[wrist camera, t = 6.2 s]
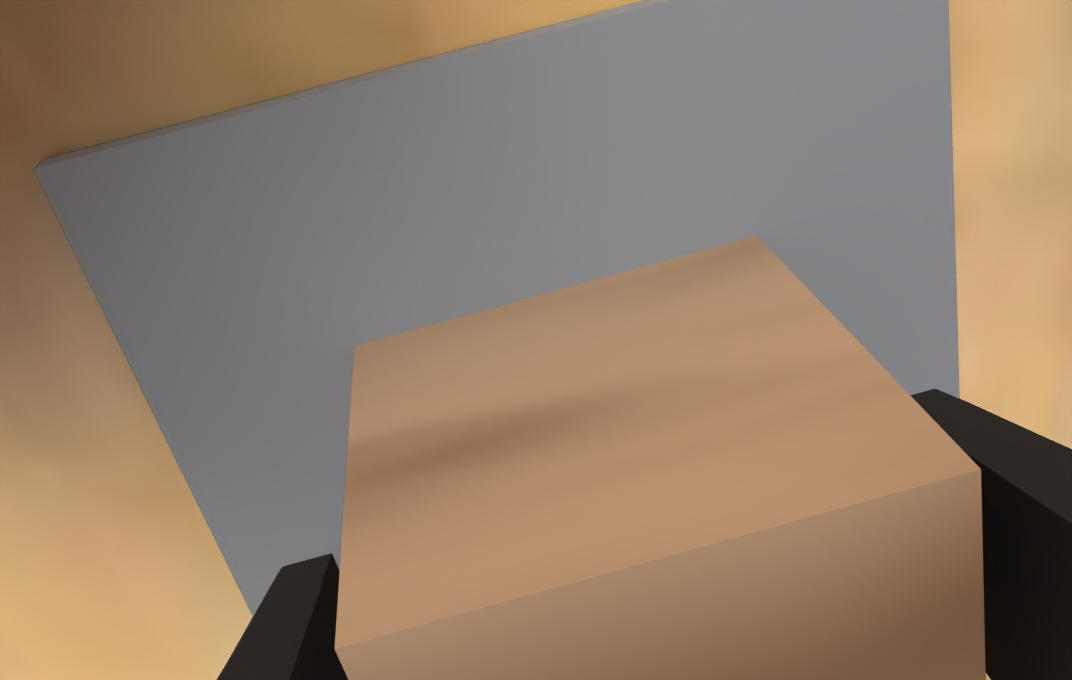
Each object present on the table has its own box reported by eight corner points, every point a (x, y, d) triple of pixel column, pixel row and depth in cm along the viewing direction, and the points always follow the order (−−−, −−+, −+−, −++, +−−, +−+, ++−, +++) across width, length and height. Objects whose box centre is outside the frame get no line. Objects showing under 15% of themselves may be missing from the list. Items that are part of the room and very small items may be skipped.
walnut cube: (799, 550, 15) (990, 873, 11) (464, 644, 15) (499, 1012, 11) (756, 235, 13) (980, 469, 8) (353, 345, 13) (334, 649, 8)
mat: (953, 595, 17) (966, 611, 17) (337, 765, 17) (335, 785, 16) (929, -76, 12) (946, -72, 11) (43, 159, 12) (33, 169, 11)
